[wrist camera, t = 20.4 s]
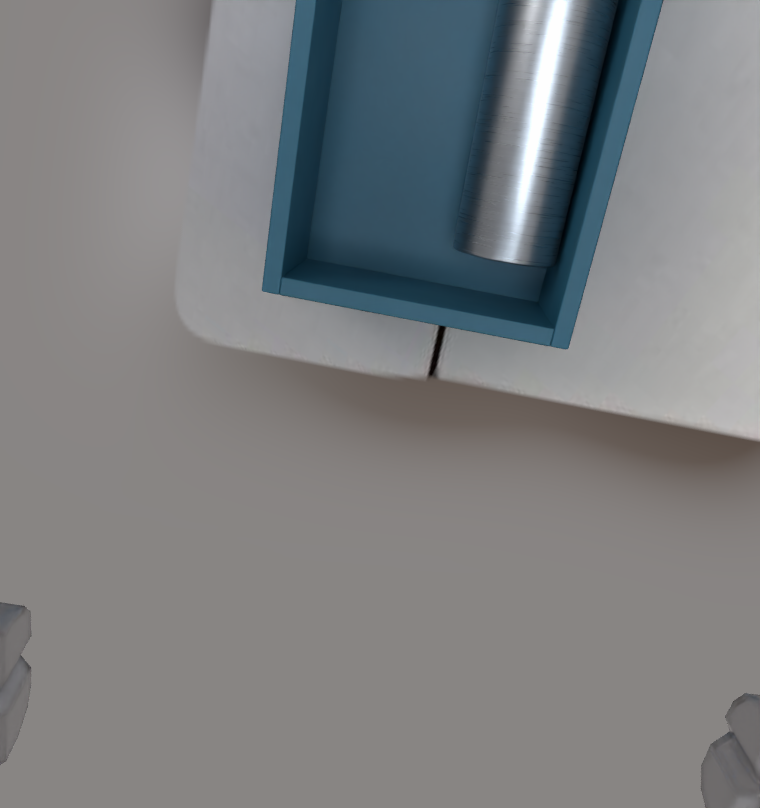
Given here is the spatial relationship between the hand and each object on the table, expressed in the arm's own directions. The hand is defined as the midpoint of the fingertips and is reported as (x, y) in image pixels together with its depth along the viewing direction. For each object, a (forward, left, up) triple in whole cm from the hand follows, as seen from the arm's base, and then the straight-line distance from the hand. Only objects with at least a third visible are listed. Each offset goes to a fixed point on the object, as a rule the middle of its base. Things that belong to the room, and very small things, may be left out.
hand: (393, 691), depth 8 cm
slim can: (0, +11, -28) cm, 30 cm away
